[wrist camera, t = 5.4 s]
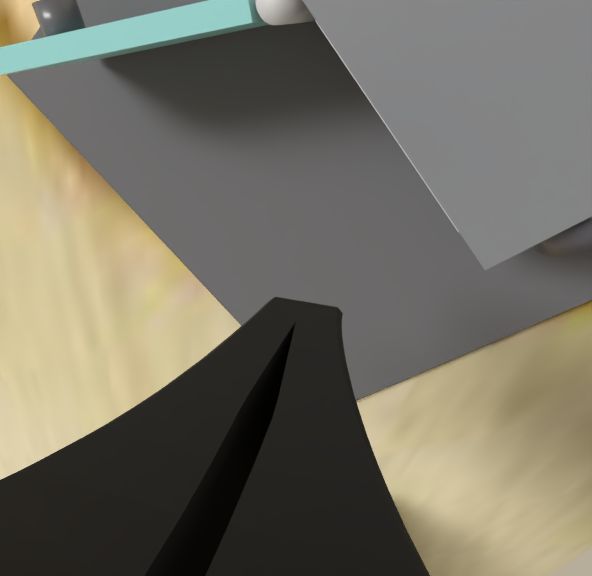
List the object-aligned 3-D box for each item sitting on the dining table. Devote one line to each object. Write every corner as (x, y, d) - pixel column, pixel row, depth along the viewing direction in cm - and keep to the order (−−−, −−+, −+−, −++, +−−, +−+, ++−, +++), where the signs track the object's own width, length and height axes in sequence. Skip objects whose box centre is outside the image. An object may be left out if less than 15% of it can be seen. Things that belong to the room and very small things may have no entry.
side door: (327, 18, 14) (298, 21, 10) (96, 64, 16) (-4, 82, 12) (319, -51, 13) (284, -77, 9) (76, 8, 15) (-38, 7, 11)
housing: (610, -265, 10) (785, -496, 6) (744, 83, 13) (937, 124, 8) (328, 4, 14) (291, -1, 9) (477, 231, 17) (507, 316, 12)
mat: (804, -1068, 6) (821, -1112, 6) (1018, 110, 12) (1030, 112, 12) (12, 74, 18) (6, 75, 17) (324, 409, 23) (324, 413, 23)
